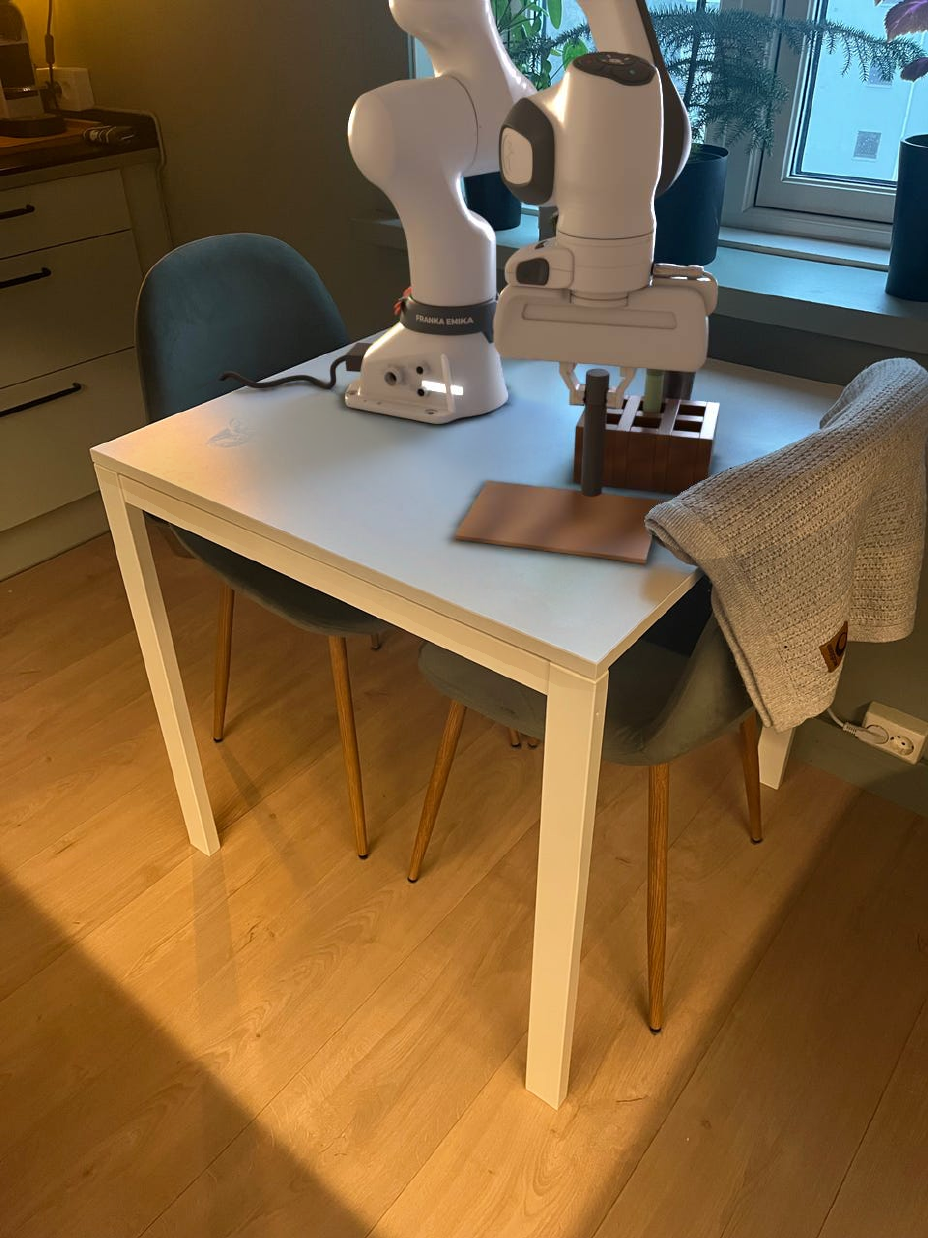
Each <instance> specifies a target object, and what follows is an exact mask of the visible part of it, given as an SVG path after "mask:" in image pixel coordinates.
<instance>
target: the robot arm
mask: <svg viewBox="0 0 928 1238" xmlns="http://www.w3.org/2000/svg"><path fill="white" fill-rule="evenodd" d="M574 1H575V2H576V3H577V5H578V7H580V9H581V11H582V13H583V15H584V17H585V19H586V22H587V24H588V28H589V31H590V34H591V37H592V41H593V44H594V46H595V49H596V51H593V52H592V51H591V52H587V53H584V54H580V55H579V56H577V57H575V58H573V59H572V60H571V61H570V62H569V63H568V64H567V67H566V68H565V71H564V74H563V77H561V79H559V80H558V81H557V82H556V83H554V84H552V85H551V86H549V87H547V88H545V89H543V90H541V91H538V89H537V87H535V85H534V84H533V82H532V81H531V80H530V79H529V78H527V77H526V76H525V74H523V73H522V72H521V71H520V70H519V69H518V67H517V66H516V65H515V63H514V62H513V60H512V59H511V57H510V55H509V54H508V52H507V50H506V47H505V46H504V43H503V41H502V39H501V36H500V33H499V30H498V28H497V25H496V21H495V18H494V14H493V9H492V5H491V0H388V4H389V10H390V13H391V15H392V18H393V19H394V21H395V23H396V25H398V27H399V28H401V30H403V31H404V32H405V33H406V34H408V35H410V36H412V37H413V38H414V39H417V41H419V42H420V44H421V45H422V46H423V47H424V49H425V52H426V53H427V55H428V56H429V59H430V62H431V64H432V68H433V72H434V76H430V77H419V78H411V79H401V80H395V81H393V82H390V83H387V84H384V85H381V86H379V87H377V88H374V89H372V90H370V91H367V92H364V93H363V94H361V95H360V96H359V97H358V98H357V99H356V101H355V103H354V105H353V107H352V109H351V112H350V115H349V120H348V125H347V138H348V139H347V140H348V146H349V150H350V154H351V157H352V158H353V161H354V163H355V165H356V167H357V168H358V170H359V172H361V174H362V175H363V176H364V177H365V178H366V179H367V180H368V181H369V182H371V184H374V185H375V186H376V187H378V188H379V190H381V191H382V192H383V193H384V194H385V196H387V198H388V199H389V201H390V202H391V203H392V205H393V207H394V209H395V210H396V213H397V214H398V217H399V219H400V221H401V223H402V227H403V230H404V234H405V239H406V246H407V254H408V256H407V257H408V266H409V277H410V286H409V287H408V288H407V289H405V291H404V292H403V296H401V297H400V298H398V300H397V301H398V302H397V303H396V304H395V305H394V309H395V311H394V315H395V316H397V315H398V318H399V321H397V323H396V324H394V325H393V326H392V327H391V328H389V329H388V330H387V331H386V332H385V333H384V334H382V335H381V336H380V337H379V338H378V339H376V340H375V341H374V342H359V341H358V342H356V343H355V344H354V345H353V346H352V347H351V348H350V349H349V350H348V351H347V352H346V353H345V354H343V355H341V356H339V357H337V358H335V360H333V362H332V363H331V364H330V366H329V367H330V368H329V377H330V380H329V382H327V383H326V382H324V381H322V380H319V379H318V378H317V377H313V376H312V375H307V374H295V375H288V376H284V377H282V378H278V379H274V380H270V381H263V382H255V381H251V380H249V379H247V378H245V377H244V376H242V375H241V374H239V373H237V372H234V371H230V370H228V371H226V372H223V373H222V374H221V375H220V376H219V377H218V379H217V381H219V382H224V381H226V380H227V379H229V378H232V379H234V380H235V381H237V382H239V383H240V384H242V385H243V386H246V387H249V388H251V389H270V388H275V387H277V386H278V387H279V386H281V385H284V384H289V383H293V382H302V381H303V382H308V383H311V384H314V385H315V386H317V387H319V388H323V389H327V390H331V389H332V388H334V387H335V385H337V368H338V367H339V365H341V364H342V363H344V362H345V371H346V372H350V373H351V372H352V373H360V374H359V376H358V377H356V378H355V379H354V380H353V381H352V382H351V383H350V384H349V385H348V387H347V388H346V391H345V393H344V394H345V395H344V402H345V405H346V406H347V407H348V408H351V409H356V410H361V411H367V412H372V413H377V414H383V415H387V416H393V417H397V418H402V419H408V420H414V421H419V422H424V423H429V424H435V425H442V424H447V423H451V422H452V421H455V420H457V419H458V420H459V419H461V418H467V417H474V416H479V415H483V414H486V413H489V412H493V411H494V410H497V409H499V408H500V407H502V406H503V405H505V404H506V402H507V401H508V399H509V397H510V396H509V391H508V389H507V385H506V382H505V381H506V380H505V378H504V373H503V368H502V361H501V358H504V359H516V360H517V359H518V360H528V361H543V362H553V363H554V362H555V363H559V364H558V368H559V369H558V373H559V375H560V377H561V378H562V380H563V382H564V384H565V385H566V387H567V389H568V390H569V395H568V396H569V399H568V404H569V406H575V407H576V406H577V407H585V383H581V382H580V381H579V379H578V377H577V375H576V372H575V369H576V368H577V366H578V364H582V365H592V366H593V365H595V366H607V367H619V376H620V377H621V378H622V379H621V380H620V382H619V384H618V385H617V386H615V385H609V390H608V391H607V398H606V399H607V402H606V408H609V409H620V410H621V408H622V406H623V400H624V395H625V392H626V390H627V389H628V387H630V385H631V383H632V382H633V380H634V379H635V376H636V374H637V373H638V369H645V370H646V369H658V370H671V371H684V372H695V371H696V372H697V371H698V370H699V369H700V368H701V367H702V366H703V365H704V364H705V363H706V360H707V355H708V349H709V328H710V327H709V326H710V325H709V316H711V315H712V313H713V312H714V311H715V310H716V307H717V304H718V303H717V302H718V295H719V283H718V281H717V279H716V277H715V276H714V275H713V274H712V273H711V272H709V271H706V270H704V266H700V265H688V266H685V265H676V264H670V263H655V262H654V255H655V244H656V231H657V230H656V229H657V219H656V214H655V206H654V203H655V202H654V201H655V200H656V199H658V198H660V197H662V195H664V194H665V193H666V192H667V191H668V190H669V189H670V188H671V186H672V185H673V184H674V183H675V182H676V180H677V179H678V177H679V176H680V174H681V173H682V171H683V169H684V167H685V165H686V163H687V162H688V159H689V157H690V153H691V148H692V126H691V121H690V117H689V113H688V111H687V108H686V106H685V103H684V100H683V99H682V97H681V95H680V94H679V91H678V89H677V87H676V85H675V83H674V81H673V80H672V77H671V75H670V73H669V70H668V67H667V65H666V62H665V59H664V56H663V53H662V51H661V46H660V44H659V40H658V37H657V33H656V31H655V27H654V24H653V21H652V17H651V14H650V11H649V8H648V5H647V1H646V0H574ZM498 172H499V173H500V178H501V180H502V182H503V184H504V185H505V187H506V188H507V189H508V190H509V191H510V193H511V194H512V195H513V196H514V197H515V198H516V199H517V200H518V201H520V202H521V203H522V204H524V205H526V206H534V207H538V208H551V207H556V208H557V211H558V210H559V217H558V222H557V226H556V236H552V237H549V238H546V239H541V240H538V241H535V242H532V243H528V244H525V245H524V246H522V247H521V248H519V249H517V250H516V251H515V252H514V253H513V254H512V255H511V256H510V257H509V259H508V260H507V262H506V264H505V265H504V279H505V281H506V283H507V285H506V286H505V287H504V288H503V290H501V292H500V293H499V291H498V289H497V237H496V234H495V231H494V228H493V227H492V225H491V224H490V223H489V222H488V220H486V219H485V218H484V217H483V216H481V215H480V214H478V213H477V212H475V211H473V210H471V209H469V208H467V205H466V203H465V200H464V196H463V192H462V191H463V190H462V186H461V185H462V184H461V183H462V178H468V177H473V176H474V177H475V176H479V175H484V174H490V173H498ZM703 276H704V277H705V278H703Z"/></svg>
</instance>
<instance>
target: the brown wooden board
mask: <svg viewBox="0 0 928 1238" xmlns="http://www.w3.org/2000/svg"><path fill="white" fill-rule="evenodd" d="M662 502H663V501H662V500H661V499H653V498H645V497H635V496H626V495H619V494H609V493H601V495H599V496H596V497H587V496H584V495H582V494H581V490H576V489H575V490H574V489H565V488H556V487H548V486H539V485H529V484H520V483H512V482H503V481H497V480H496V481H494V480H487V481H486V482H485V484H484V485H483V488H482V489H481V490H480V493H479V494H478V496H477V497H476V498H475V501H474V502H473V504H472V506H471V507H470V509H469V511H468V513H467V514H466V516H465V517H464V519H463V521H462V523H461V524H460V526H459V528H458V529H457V531H456V533H455V534H454V539H455V540H460V541H465V542H467V541H468V542H469V541H470V542H474V543H475V542H476V543H483V544H491V545H499V546H504V547H505V546H506V547H512V548H513V547H514V548H522V549H527V550H528V549H529V550H535V551H536V550H538V551H543V552H551V553H559V554H568V555H575V556H583V557H590V558H596V559H598V558H599V559H605V560H613V561H620V562H629V563H635V564H644V565H646V563H647V560H648V556H649V552H650V548H651V546H652V541H653V538H651V537H650V536H649V533H648V531H647V530H646V527H645V522H644V520H645V516H646V515H647V514H648V513H649V511H650V510H651V509H652V508H654V507H655V506H656V505H658V504H660V503H661V504H662Z"/></svg>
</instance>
